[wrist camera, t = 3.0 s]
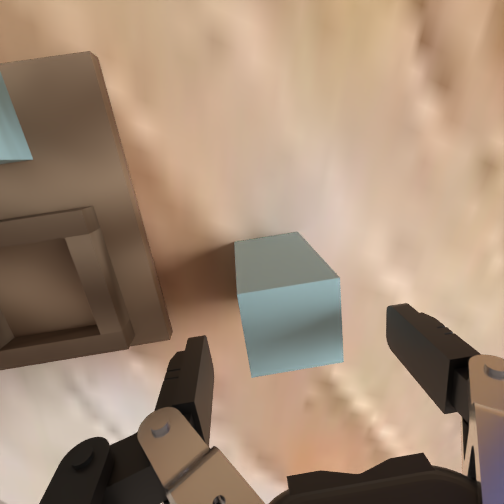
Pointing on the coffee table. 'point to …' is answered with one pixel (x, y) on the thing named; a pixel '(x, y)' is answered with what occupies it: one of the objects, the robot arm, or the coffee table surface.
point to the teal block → (287, 305)
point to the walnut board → (69, 220)
